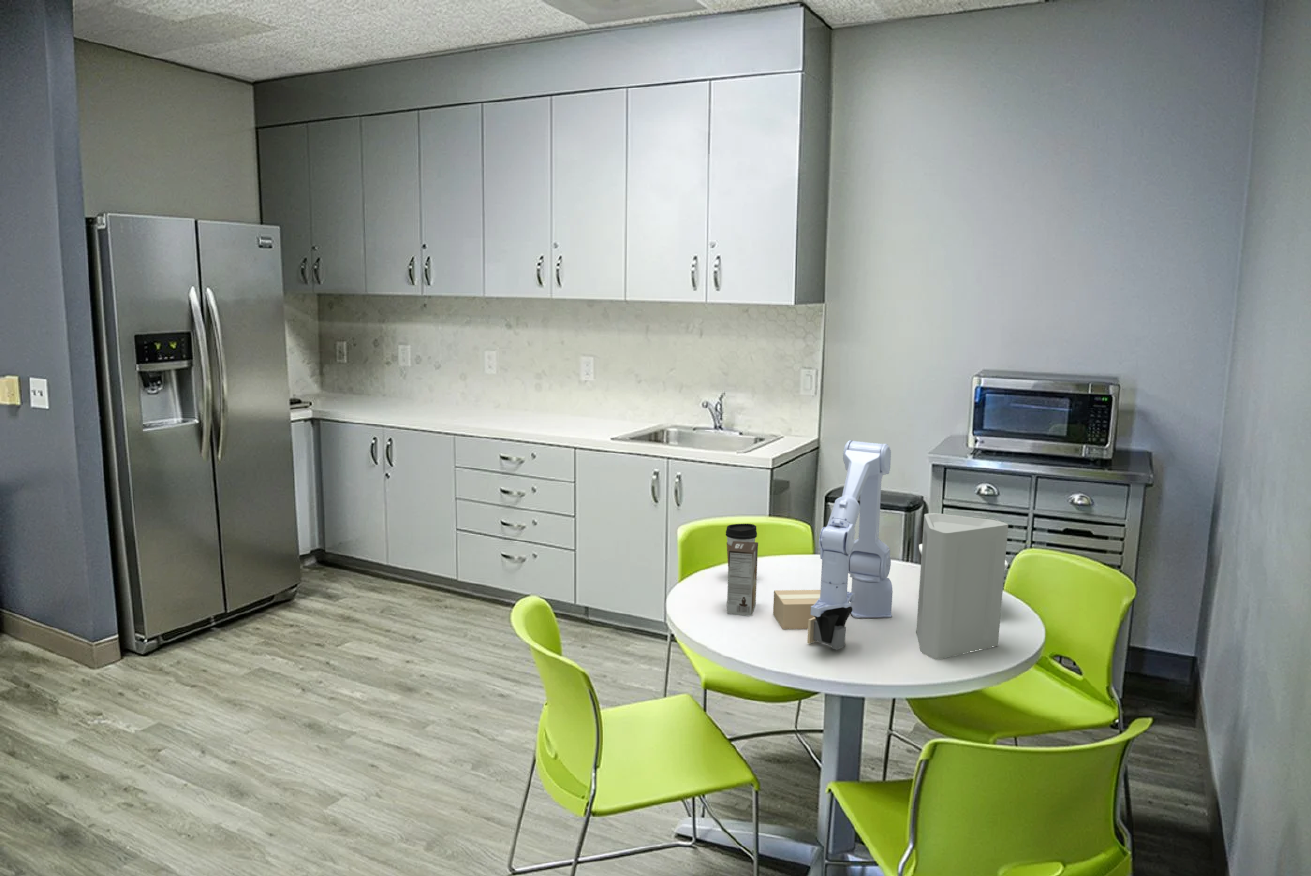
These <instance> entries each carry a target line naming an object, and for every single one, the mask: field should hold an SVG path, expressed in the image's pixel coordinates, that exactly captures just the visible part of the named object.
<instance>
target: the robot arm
mask: <svg viewBox="0 0 1311 876" xmlns="http://www.w3.org/2000/svg"><path fill="white" fill-rule="evenodd" d="M842 451H843V453H842V459H843V461H842V462H843V463H844V468H845V470H846V476H845V481H844V486H843V490H842V494H841V496H840V497H838V498H836V499H835V500H834V504H833V506H832V510H831V513H830V516H829V518H828V522H827V525H826V526H823V527H822V528H821V530H820V533H819V539H818V547H819V557H820V559H821V573H820V574H821V576H820V590H821V591H820V598H819V599H818V600H817V602H816V603H815V604H814V605H813V606H811V615H813V616H814V617H815V619H816V621H817V623H818V626H819V630H820V635H821V639H822V641H823V642H826V643H831V642H832V638H833V632H834V627H835V626H844V627H846V622H847V621H848V619H849V617H850V615H852V617H853V618H855V619H865V618H866V619H868V618H871V619H873V618H876V619H877V618H893V615H892V607H893V606H892V605H893V593H894V592H893V584H892V581H891V579H890V578H889V575H890V572H891V566H892V565H891V564H892V560H891V550H890V547H889V546H888V545H887V544H886V543H885V542H884V541H882V539H880V538H879V537H880V536H879V535H880V518H881V517H880V516H881V513H880V512H881V499H882V497H881V496H882V480H883V476H884V475H889V474H890V471H891V460H892V450H891V447H890V446H889V444H888V443H876V442H867V441H858V440H853V439H850V440H848V441H846V443H845V444H844V448H843V450H842ZM858 501H859V502H858ZM858 518H859V520H858ZM857 521H858V523H859V524H858V538H856V539H855V535H856V529H855V527H856V524H857ZM849 577H850V578H851V588H850V589H851V592H850V591H848V584H849V582H848V581H849Z"/></svg>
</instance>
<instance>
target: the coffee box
mask: <svg viewBox="0 0 1311 876" xmlns="http://www.w3.org/2000/svg"><path fill="white" fill-rule="evenodd" d="M758 549H759V542H757V541H755V542H742V541H733V543H732V545H731V547H730V549H729V561H728V560H727V567H728V568H727V595H726V597H727V599H726V614H727V615H735V616H736V615H738V616H747V617H749V616H750V617H752V616H753V613H754V612H755V608H756V604H757V581H758V576H757V575H758Z"/></svg>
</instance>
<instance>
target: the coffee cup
mask: <svg viewBox="0 0 1311 876" xmlns="http://www.w3.org/2000/svg"><path fill="white" fill-rule="evenodd" d="M757 531H758V530H757V525H755V524H753V523H735V524H733V523H732V524H729V525H727V526H726V530H725V536H726V540H727V541H726V553H727V556H726V557H727V562H728V561H729V549H730V547H731V545H732V543H733V541H742V542H756V538H757V537H758V533H757Z"/></svg>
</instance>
